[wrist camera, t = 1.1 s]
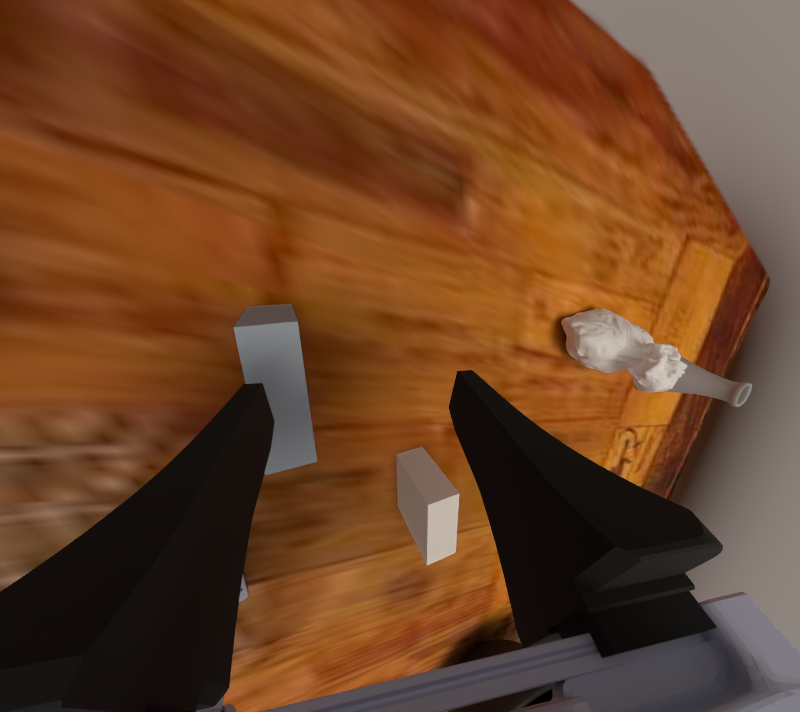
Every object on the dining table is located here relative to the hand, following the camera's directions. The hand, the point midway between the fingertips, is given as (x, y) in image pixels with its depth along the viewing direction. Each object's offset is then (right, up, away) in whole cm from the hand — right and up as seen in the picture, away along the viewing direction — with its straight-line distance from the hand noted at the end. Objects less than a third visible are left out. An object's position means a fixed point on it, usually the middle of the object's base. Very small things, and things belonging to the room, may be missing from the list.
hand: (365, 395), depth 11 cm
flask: (+39, 0, +32) cm, 51 cm away
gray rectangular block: (-8, +1, +11) cm, 14 cm away
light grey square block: (+2, -12, +20) cm, 23 cm away
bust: (+23, +4, +24) cm, 34 cm away
